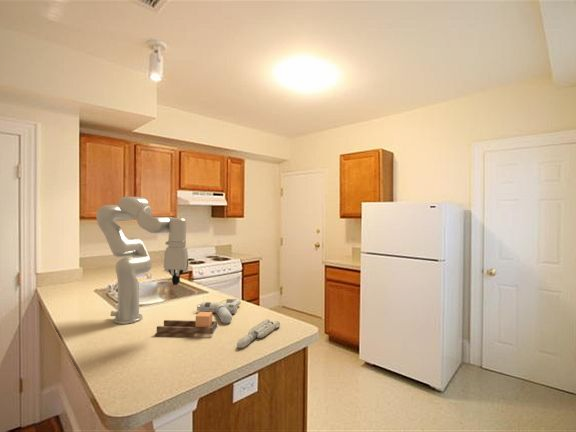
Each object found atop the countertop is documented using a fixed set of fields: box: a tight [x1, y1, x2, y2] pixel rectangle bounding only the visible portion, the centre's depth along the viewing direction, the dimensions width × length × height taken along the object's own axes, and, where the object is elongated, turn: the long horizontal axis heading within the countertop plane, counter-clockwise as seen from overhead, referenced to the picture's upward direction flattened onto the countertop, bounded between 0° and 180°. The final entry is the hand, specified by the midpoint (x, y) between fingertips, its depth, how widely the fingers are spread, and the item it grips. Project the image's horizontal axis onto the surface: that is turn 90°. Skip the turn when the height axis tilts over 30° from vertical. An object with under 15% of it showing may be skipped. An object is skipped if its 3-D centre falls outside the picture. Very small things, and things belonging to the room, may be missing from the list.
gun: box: [196, 298, 242, 325], centre depth 167 cm, size 6×29×30 cm
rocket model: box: [236, 318, 281, 349], centre depth 138 cm, size 9×4×30 cm
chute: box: [154, 319, 219, 338], centre depth 141 cm, size 25×12×4 cm, turn 89°
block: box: [195, 311, 213, 327], centre depth 141 cm, size 6×6×7 cm
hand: (175, 284), depth 143 cm, fingers closed
